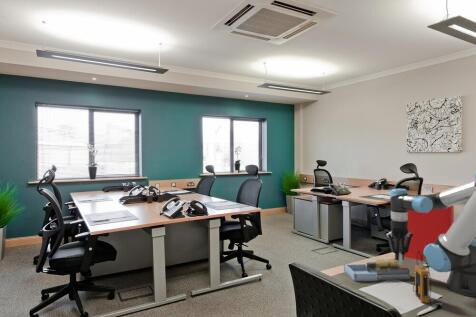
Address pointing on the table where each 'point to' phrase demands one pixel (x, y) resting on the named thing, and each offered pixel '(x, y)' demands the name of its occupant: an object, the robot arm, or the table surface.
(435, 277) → the table surface
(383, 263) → the brass block
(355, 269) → the tray
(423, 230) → the book
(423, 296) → the multimeter
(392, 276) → the slotted deck
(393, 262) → the brass block
